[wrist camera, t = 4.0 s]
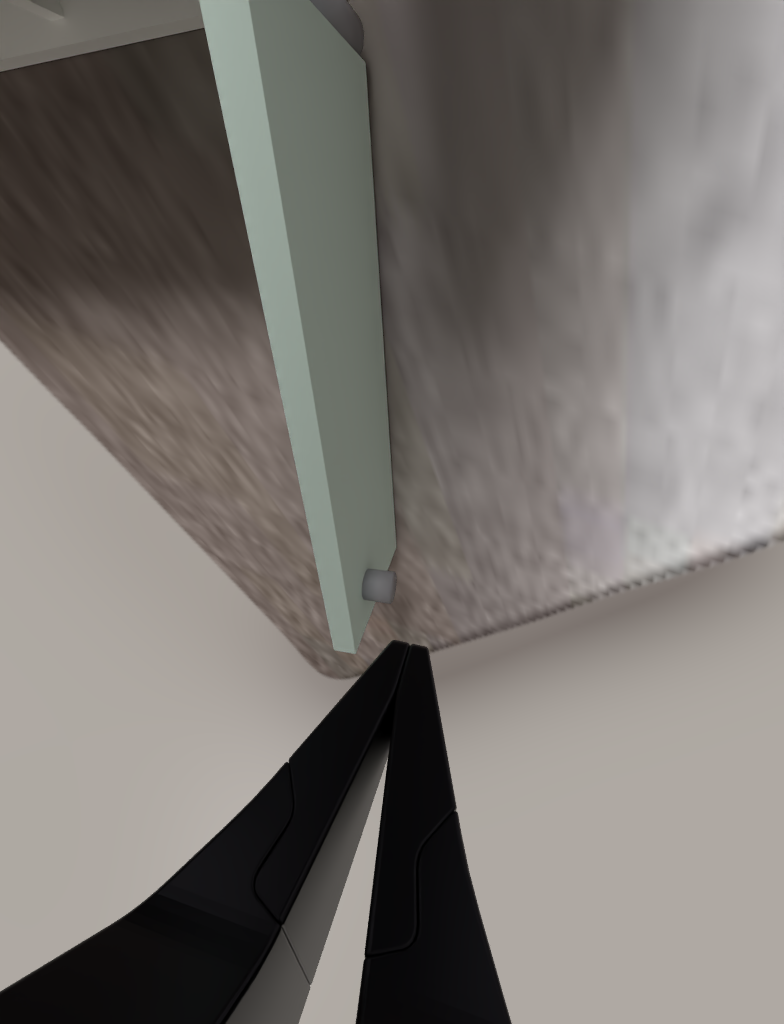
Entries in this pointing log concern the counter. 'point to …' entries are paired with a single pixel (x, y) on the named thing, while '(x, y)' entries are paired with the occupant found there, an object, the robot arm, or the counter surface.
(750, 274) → the counter surface
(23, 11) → the cupboard
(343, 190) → the door
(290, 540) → the counter surface
